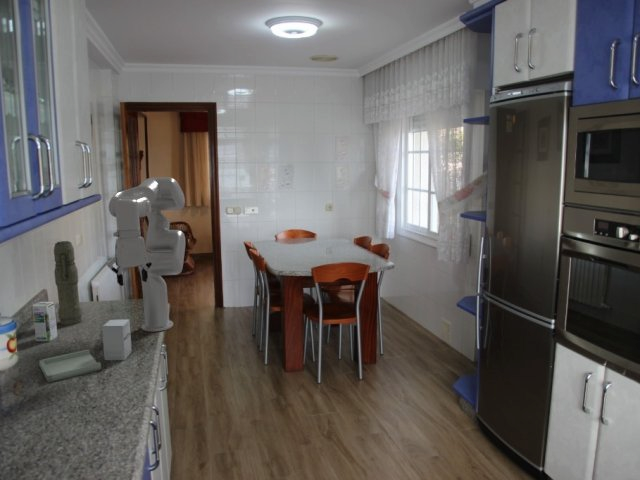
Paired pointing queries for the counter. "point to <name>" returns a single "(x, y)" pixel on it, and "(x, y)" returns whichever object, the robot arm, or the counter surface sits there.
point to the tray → (68, 365)
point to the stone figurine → (67, 284)
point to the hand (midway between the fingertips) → (132, 282)
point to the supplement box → (116, 339)
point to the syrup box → (45, 321)
